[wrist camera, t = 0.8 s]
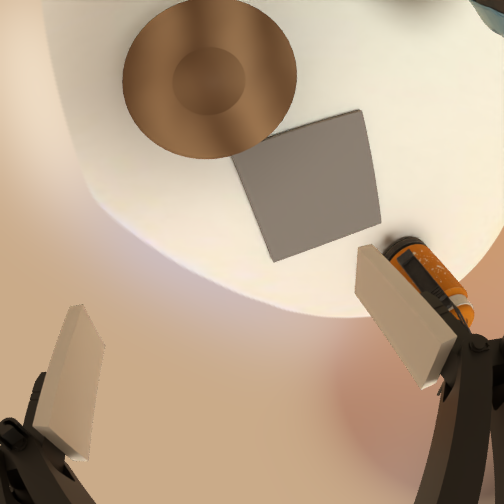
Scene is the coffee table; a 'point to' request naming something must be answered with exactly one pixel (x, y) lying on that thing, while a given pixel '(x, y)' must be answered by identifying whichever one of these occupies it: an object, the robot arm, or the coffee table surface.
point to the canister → (431, 277)
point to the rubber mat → (311, 184)
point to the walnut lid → (209, 78)
